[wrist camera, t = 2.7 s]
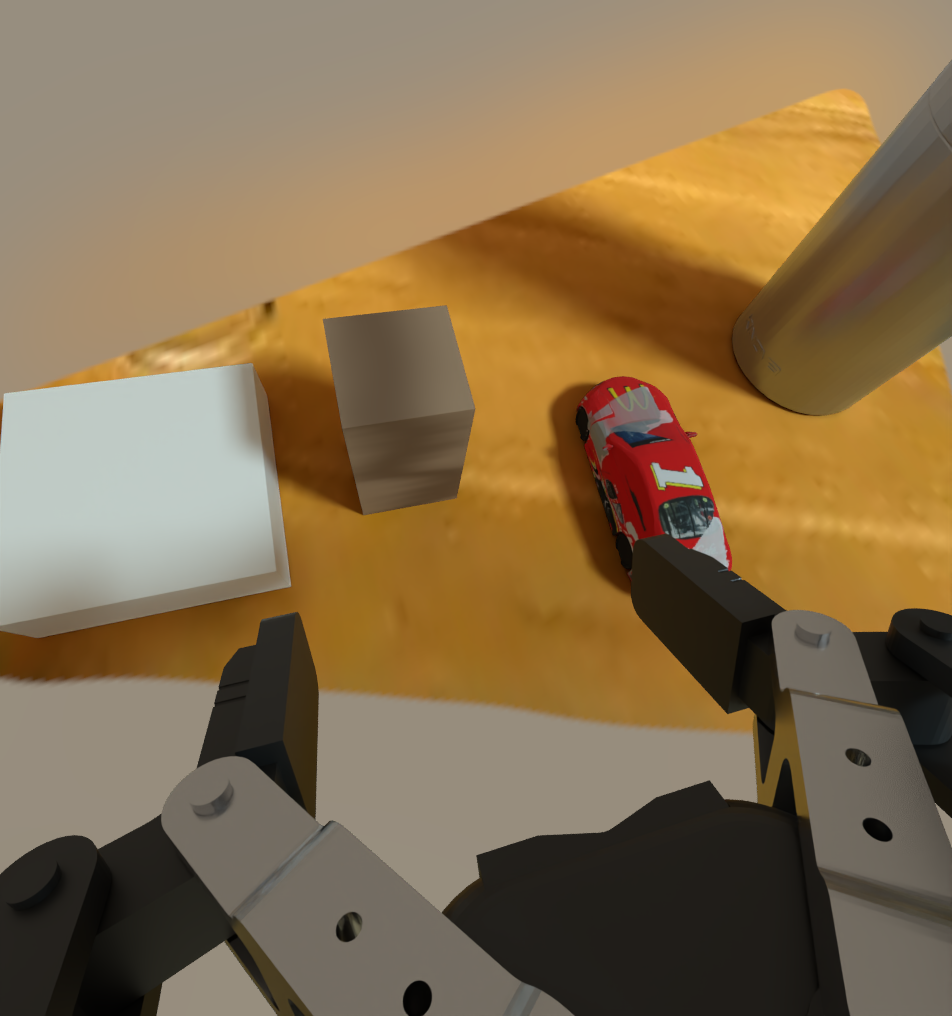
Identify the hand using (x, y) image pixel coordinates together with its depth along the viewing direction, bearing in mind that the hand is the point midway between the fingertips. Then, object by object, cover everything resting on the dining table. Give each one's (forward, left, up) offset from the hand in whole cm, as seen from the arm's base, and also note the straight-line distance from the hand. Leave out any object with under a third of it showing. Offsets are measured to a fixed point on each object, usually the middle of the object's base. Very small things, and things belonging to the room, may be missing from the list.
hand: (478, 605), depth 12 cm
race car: (-13, -7, -14) cm, 20 cm away
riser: (+12, -11, -14) cm, 21 cm away
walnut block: (0, -11, -14) cm, 17 cm away
